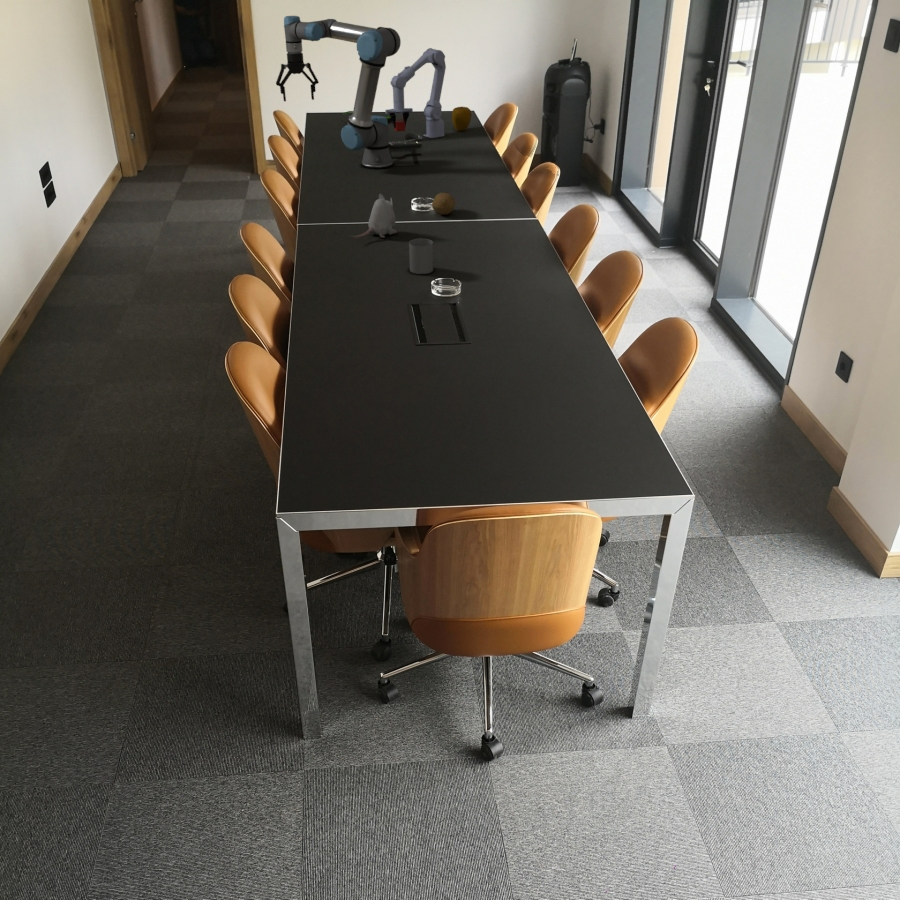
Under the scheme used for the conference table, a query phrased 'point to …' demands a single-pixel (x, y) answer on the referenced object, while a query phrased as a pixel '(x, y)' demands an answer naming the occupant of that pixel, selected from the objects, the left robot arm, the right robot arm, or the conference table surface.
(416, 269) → the cup
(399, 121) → the brick
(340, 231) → the conference table surface
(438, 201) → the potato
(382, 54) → the left robot arm
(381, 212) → the toy
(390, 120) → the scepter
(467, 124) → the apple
